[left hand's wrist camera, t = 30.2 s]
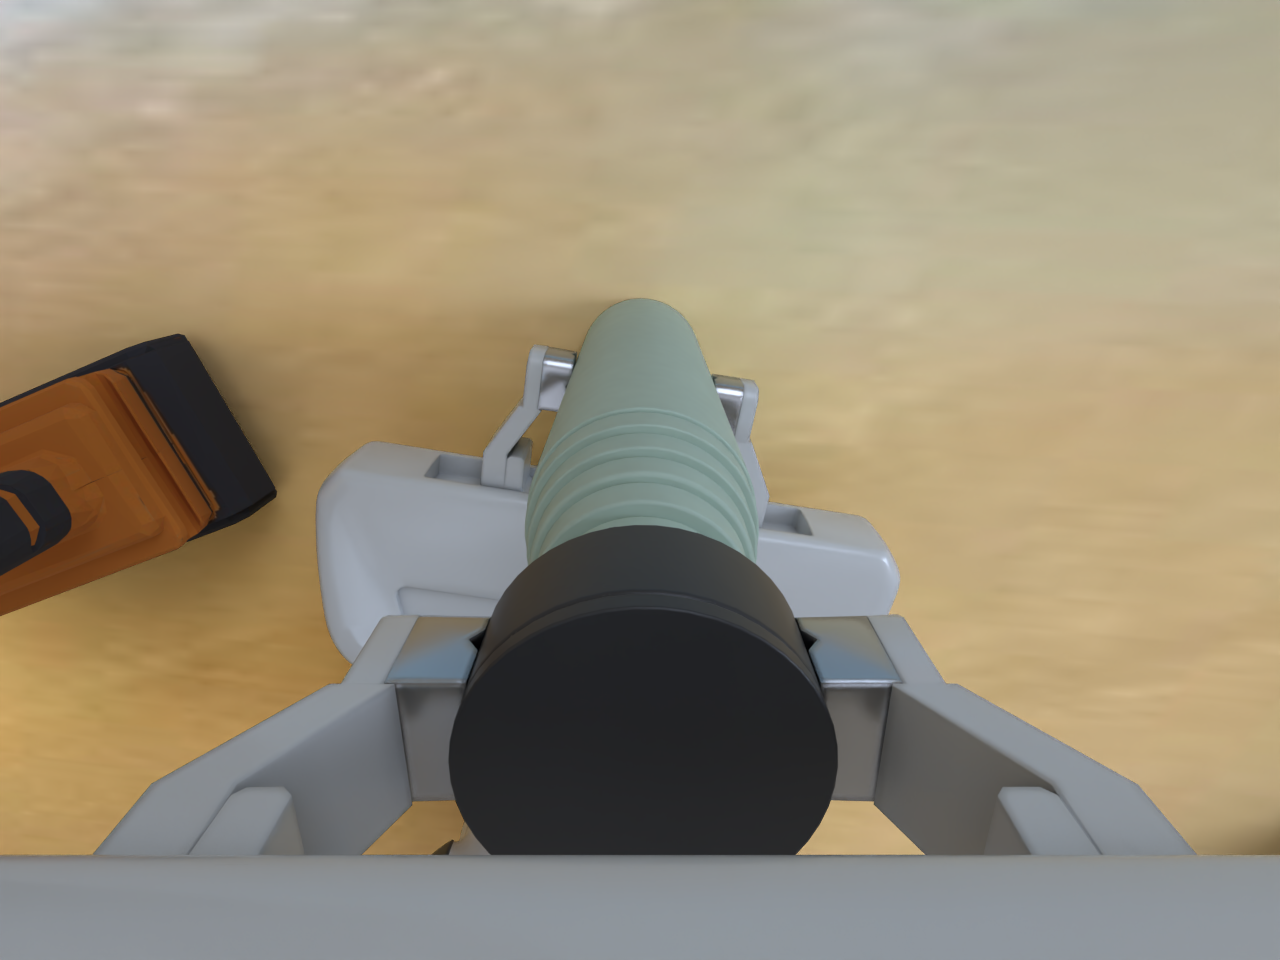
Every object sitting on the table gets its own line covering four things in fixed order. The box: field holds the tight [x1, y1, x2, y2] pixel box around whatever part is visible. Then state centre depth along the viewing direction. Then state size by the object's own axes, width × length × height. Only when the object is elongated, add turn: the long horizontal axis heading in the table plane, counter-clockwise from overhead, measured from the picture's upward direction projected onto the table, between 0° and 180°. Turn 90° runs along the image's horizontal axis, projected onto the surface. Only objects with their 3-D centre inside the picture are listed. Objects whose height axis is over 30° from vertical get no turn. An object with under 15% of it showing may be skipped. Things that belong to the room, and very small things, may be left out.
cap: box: [448, 525, 838, 855], centre depth 9 cm, size 4×4×2 cm
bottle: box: [525, 299, 759, 566], centre depth 19 cm, size 5×5×22 cm
